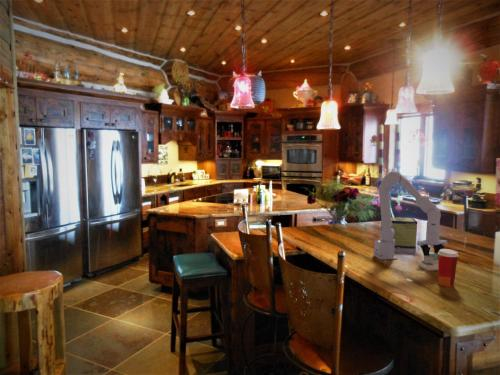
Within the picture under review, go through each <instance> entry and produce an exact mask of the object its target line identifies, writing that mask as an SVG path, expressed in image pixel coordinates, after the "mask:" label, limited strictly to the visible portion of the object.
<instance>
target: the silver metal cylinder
mask: <svg viewBox="0 0 500 375" xmlns="http://www.w3.org/2000/svg"><path fill="white" fill-rule="evenodd" d="M423 261H424V264H426V265H428V266H429V265H433V261H434V256H432V255H423Z"/></svg>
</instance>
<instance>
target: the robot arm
mask: <svg viewBox="0 0 500 375" xmlns="http://www.w3.org/2000/svg"><path fill="white" fill-rule="evenodd" d="M395 185H397V186H398V187H403V189H406V191H407V192H408V193H409V194H410V196H413V198H414V199H415V204H416V205H417V206H418V207H419V209H421V210H422V212H423V213H426V216H427V222H426V232H425V239H424V240H416V246H417V247H418V246H419V247H420V249H421V251H422V254H423V256H424V255H429V252H431V247H430V246H432V247H433V252H435V253H437V254H438V252H439V250H440V249H445V246H447V245H448V241H447V240H445V239H444V240H443V239H440V228H441V223H440V222H441V217H442V215H441V213H442V212H441V210H440V208H439V206H437V205H436V204H434V203H433V202H432V201H431V199H430V196H427V195H425V194H421V193H420V192H419V191H418V190H417V188H416V187H415V186H414V185H413V184H412V183H411V181H410V180H409V179H408V178H407V177H405V175H403V174H402V173H400V171H398V170H392V171H390V172H388V173H387V174H386V175H385V176H384V177H383V179H382V181H381V183H380V184H379V186H378V193H379V195H378V196H379V206H380V216H381V217H380V218H381V231H380V235H379V236H380V237H379V239H378V240H375V241H374V245H373V246H374V247H373V254H372V255H373V257H375V258H377V259H378V260H398V259H399V258H398V257H396V256H395V239H394V238H393V237H394V234H395V230H394V228H393V226H392V220H391V217H392V211H391V202H390V201H391V200H390V189H391V188H393V186H395Z"/></svg>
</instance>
